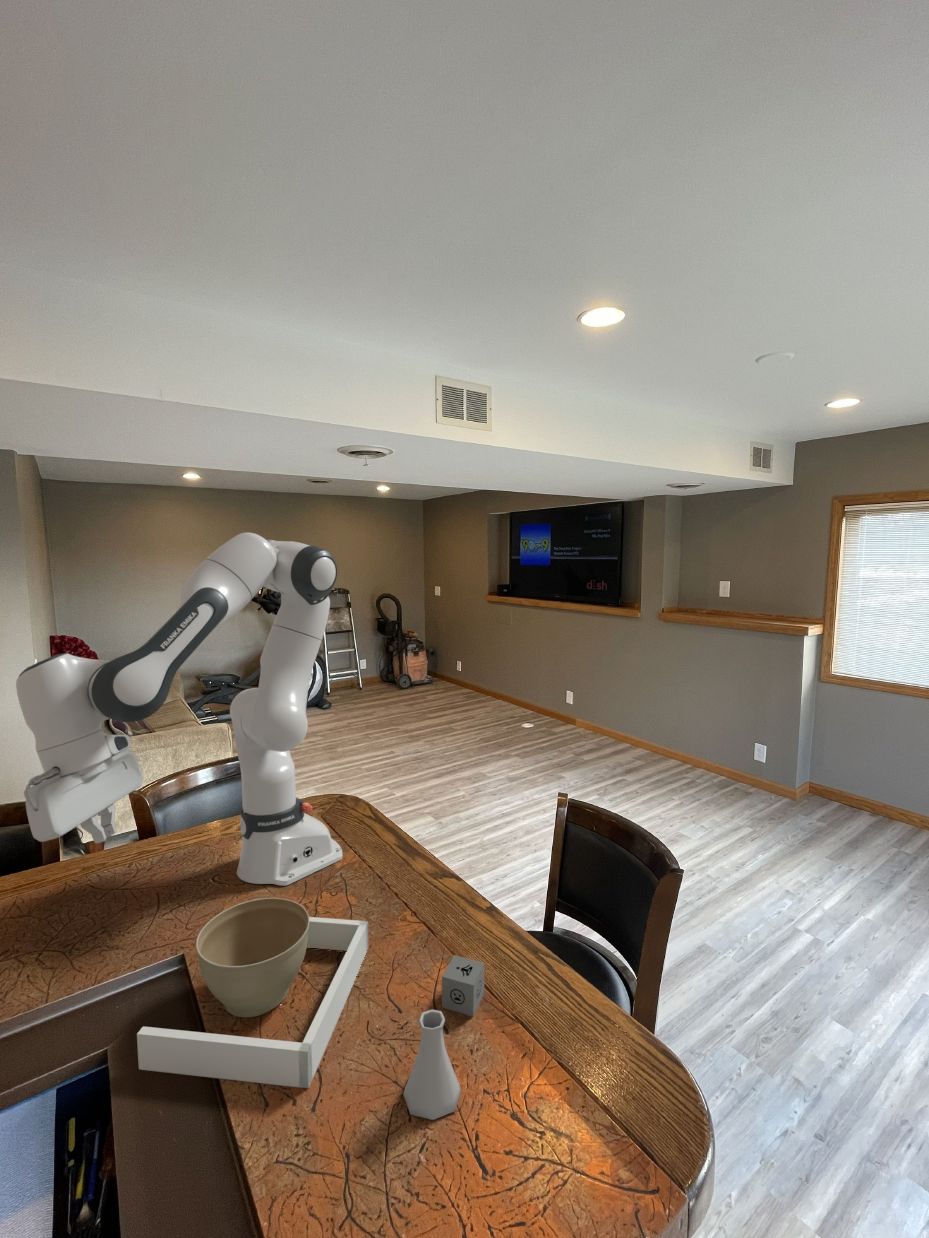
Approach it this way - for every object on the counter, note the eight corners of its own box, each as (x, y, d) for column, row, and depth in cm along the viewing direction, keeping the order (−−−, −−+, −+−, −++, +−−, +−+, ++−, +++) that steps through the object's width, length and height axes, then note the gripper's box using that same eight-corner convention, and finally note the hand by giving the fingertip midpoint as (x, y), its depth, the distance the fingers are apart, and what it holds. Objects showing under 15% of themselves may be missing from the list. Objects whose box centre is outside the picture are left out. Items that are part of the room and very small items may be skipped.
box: (138, 1069, 73) (136, 1033, 73) (241, 938, 100) (240, 911, 99) (308, 1088, 71) (307, 1051, 70) (368, 948, 97) (368, 921, 96)
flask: (403, 1070, 73) (403, 998, 73) (459, 1066, 74) (458, 995, 73) (402, 1124, 66) (401, 1045, 65) (463, 1119, 67) (463, 1041, 66)
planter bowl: (176, 1007, 84) (173, 938, 83) (267, 946, 97) (265, 887, 97) (243, 1057, 75) (240, 981, 74) (332, 983, 89) (331, 918, 88)
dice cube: (473, 1017, 82) (473, 985, 82) (442, 1007, 84) (441, 976, 84) (484, 993, 87) (484, 962, 86) (454, 984, 89) (454, 955, 88)
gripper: (41, 776, 78) (75, 868, 79) (135, 732, 98) (161, 806, 99) (1, 788, 78) (35, 879, 79) (103, 742, 98) (129, 815, 100)
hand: (106, 838), depth 89 cm, fingers closed
